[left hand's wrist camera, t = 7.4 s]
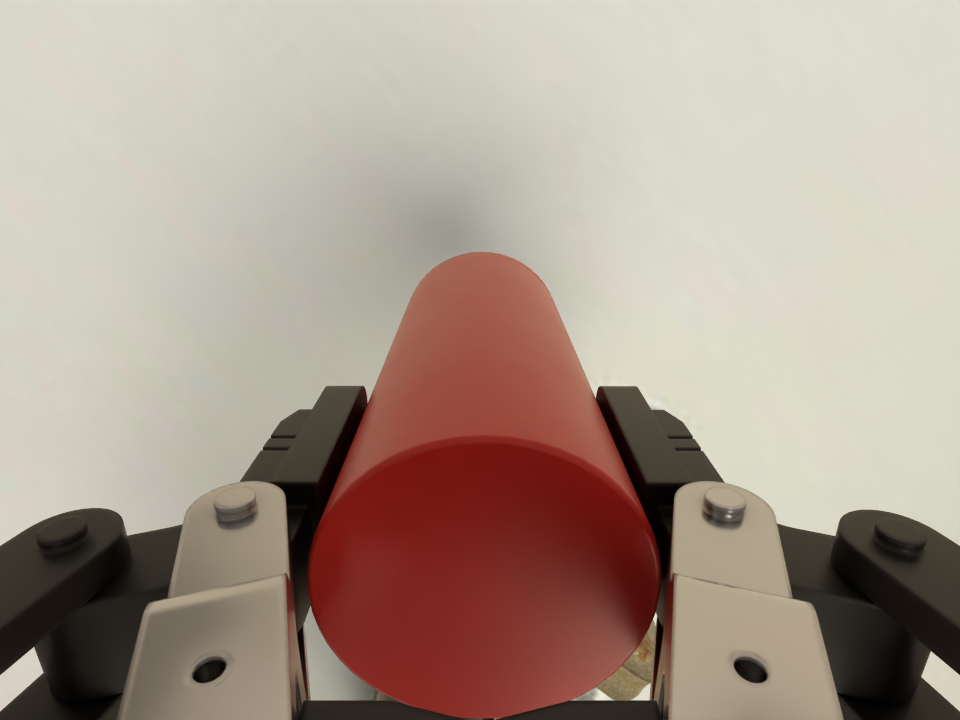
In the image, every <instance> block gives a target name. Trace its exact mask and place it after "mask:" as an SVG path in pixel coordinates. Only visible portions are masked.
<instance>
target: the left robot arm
mask: <svg viewBox="0 0 960 720" xmlns="http://www.w3.org/2000/svg"><path fill="white" fill-rule="evenodd" d="M596 401H597V403H598V405H599V408H600V410H601V412H602V415H603V417H604V419H605V422H606V424H607V426H608V429H609V431H610V433H611V436H612V438H613V440H614V443H615V445H616V447H617V450H618V452H619V454H620V456H621V459H622V461H623V463H624V466H625V468H626V470H627V473H628V475H629V477H630V480H631V482H632V484H633V487H634V489H635V491H636V494H637V496H638V498H639V501H640V503H641V505H642V508H643V510H644V512H645V514H646V517H647V519H648V521H649V524H650V526H651V528H652V531H653V533H654V535H655V539H656V543H657V546H658V550H659V553H660V563H661V588H660V595H659V600H658V604H657V608H656V613H657V623H656V630H655V637H654V649H653V662H652V675H651V688H650V701H566V702H562V703H558V704H554V705H550V706H546V707H542V708H538V709H534V710H530V711H526V712H523V713H519V714H515V715H511V716H507V717H503V718H499V719H498V718H484V719H482V718H462V717H455V716H449V715H445V714H441V713H437V712H434V711H430V710H426V709H422V708H418V707H414V706H410V705H407V704H404V703H402V702H400V701H397V700H395V699H393V698H391V697H389V696H387V695H385V694H383V693H381V692H380V691H378V690H376V689H375V693H374V698H373V701H310V688H309V675H308V662H307V649H306V637H305V630H304V622H305V619H306V616H307V613H308V611H309V608H310V606H311V603H310V598H309V594H308V584H307V566H308V558H309V552H310V548H311V545H312V541H313V538H314V534H315V532H316V530H317V527H318V525H319V522H320V520H321V517H322V515H323V512H324V510H325V508H326V505H327V503H328V500H329V498H330V495H331V493H332V490H333V488H334V485H335V483H336V481H337V478H338V476H339V473H340V471H341V468H342V466H343V463H344V461H345V459H346V456H347V454H348V451H349V449H350V446H351V444H352V441H353V439H354V436H355V434H356V432H357V429H358V427H359V424H360V422H361V419H362V417H363V414H364V412H365V409H366V407H367V405H368V404H367V395H366V390H365V387H364V386H326V387H325V389H324V391H323V392H322V394H321V396H320V397H319V399H318V401H317V402H316V404H315V406H314V407H313V409H312V410H298V411H296V412H295V413H293V414H292V415H290V416H289V417H287V418H286V419H284V420H282V421H281V422H280V423H279V425H278V426H277V428H276V429H275V431H274V432H273V434H272V435H271V439H269V440H268V441H267V442H266V444H265V445H264V447H263V451H260V453H259V454H258V456H257V457H256V459H255V460H254V462H253V463H252V465H251V466H250V467H249V469H248V470H247V472H246V473H245V475H244V476H243V478H242V479H241V481H240V482H238V483H233V484H229V485H225V486H222V487H219V488H217V489H214V490H212V491H210V492H208V493H206V494H205V495H203V496H201V497H200V498H199V499H197V500H196V501H195V502H194V503H193V504H192V505H191V506H190V507H189V508H188V510H187V511H186V514H185V517H184V522H183V524H182V525H179V526H174V527H170V528H165V529H160V530H155V531H150V532H145V533H139V534H134V535H129V536H127V534H126V530H125V526H124V522H123V519H122V517H121V516H120V515H119V514H118V513H116V512H114V511H112V510H108V509H102V508H89V509H80V510H75V511H70V512H66V513H63V514H59V515H56V516H53V517H51V518H48V519H46V520H43V521H41V522H39V523H37V524H35V525H33V526H31V527H30V528H28V529H26V530H25V531H23V532H21V533H20V534H18V535H17V536H15V537H14V538H12V539H11V540H9V541H7V542H6V543H4V544H3V545H1V546H0V675H1V674H2V673H3V672H4V671H6V670H7V669H8V668H9V667H10V666H11V665H13V664H14V663H15V662H16V661H17V660H19V659H20V658H21V657H22V656H23V655H25V654H26V653H27V652H28V651H29V650H31V649H32V648H33V647H34V648H35V650H36V653H37V656H38V658H39V661H40V664H41V667H42V669H43V672H44V673H43V674H42V675H41V676H40V677H39V678H37V679H36V680H35V681H34V682H33V683H32V684H31V685H30V686H28V687H27V688H26V689H25V690H24V691H23V692H22V693H21V694H20V695H18V696H17V697H16V698H15V699H14V700H13V701H12V702H11V703H9V704H8V705H7V706H6V707H5V708H4V709H3V710H2V711H0V720H960V711H958V710H957V709H956V708H955V707H954V706H953V705H952V704H951V703H949V702H948V701H947V700H946V699H945V698H944V697H943V696H942V695H941V694H939V693H938V692H937V691H936V690H935V689H934V688H933V687H932V686H930V685H929V684H928V683H927V682H926V681H925V680H924V679H923V678H922V677H921V676H922V673H923V670H924V668H925V665H926V662H927V660H928V657H929V654H930V652H931V651H932V652H933V653H934V654H935V655H937V656H938V657H939V658H940V659H941V660H943V661H944V662H945V663H946V664H947V665H949V666H950V667H951V668H952V669H953V670H954V671H956V672H957V673H958V674H959V675H960V546H959V545H957V544H956V543H954V542H953V541H951V540H949V539H948V538H946V537H945V536H943V535H942V534H940V533H939V532H937V531H935V530H933V529H932V528H930V527H928V526H926V525H924V524H922V523H920V522H918V521H915V520H913V519H910V518H907V517H904V516H901V515H898V514H894V513H890V512H885V511H878V510H857V511H852V512H849V513H847V514H845V515H844V516H843V517H842V518H841V519H840V522H839V525H838V529H837V532H836V536H831V535H826V534H821V533H816V532H811V531H806V530H801V529H795V528H791V527H787V526H783V525H780V524H777V522H776V517H775V514H774V511H773V510H772V508H771V507H770V506H769V505H768V504H767V503H766V502H765V501H764V500H763V499H761V498H760V497H759V496H757V495H755V494H754V493H752V492H750V491H748V490H746V489H743V488H741V487H738V486H735V485H731V484H727V483H724V481H723V480H722V478H721V477H720V475H719V474H718V472H717V471H716V469H715V468H714V467H713V465H712V464H711V462H710V461H709V459H708V458H707V456H706V455H705V454H704V452H703V451H701V448H700V446H699V445H698V443H697V442H696V441H695V439H693V436H692V435H691V433H690V432H689V430H688V429H687V427H686V426H685V425H684V423H683V422H682V421H680V420H679V419H677V418H676V417H674V416H672V415H671V414H669V413H668V412H666V411H665V410H651V409H650V407H649V405H648V404H647V402H646V400H645V399H644V397H643V395H642V394H641V392H640V390H639V389H638V388H637V387H636V386H600V387H599V388H598V391H597V395H596Z"/></svg>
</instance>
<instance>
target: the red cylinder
mask: <svg viewBox="0 0 960 720" xmlns="http://www.w3.org/2000/svg"><path fill="white" fill-rule="evenodd" d="M307 584H308V594H309V598H310V603H311V608H312V612H313V615H314V617H315V620H316V622H317V625H318V627H319V630H320V631H321V633H322V635H323V637H324V638H325V640H326V642H327V644H328V645H329V646H330V648H331V649H332V650H333V652H334V653H335V654H336V655H337V657H338V658H339V659H340V660H341V661H342V662H343V663H344V664H345V665H346V666H347V667H348V668H349V669H350V670H351V671H352V672H353V673H354V674H355V675H357V676H358V677H359V678H360V679H362V680H363V681H364V682H366V683H367V684H368V685H370V686H372V687H373V688H375V689H376V690H378V691H380V692H381V693H383V694H385V695H387V696H389V697H391V698H393V699H395V700H397V701H400V702H402V703H404V704H407V705H410V706H414V707H418V708H422V709H426V710H430V711H434V712H437V713H441V714H445V715H449V716H455V717H462V718H482V719H484V718H503V717H507V716H511V715H515V714H519V713H523V712H526V711H530V710H534V709H538V708H542V707H546V706H550V705H554V704H558V703H562V702H566V701H570V700H572V699H574V698H576V697H579V696H581V695H583V694H584V693H586V692H588V691H589V690H591V689H593V688H594V687H596V686H598V685H599V684H601V683H602V682H603V681H605V680H606V679H607V678H608V677H610V676H611V675H612V674H614V673H615V672H616V671H617V670H618V669H619V668H620V667H621V666H622V665H623V664H624V663H625V662H626V661H627V660H628V659H629V658H630V656H631V655H632V654H633V653H634V651H635V650H636V649H637V648H638V646H639V645H640V643H641V642H642V640H643V638H644V637H645V635H646V633H647V631H648V630H649V627H650V625H651V622H652V620H653V617H654V615H655V612H656V608H657V604H658V600H659V595H660V588H661V563H660V553H659V550H658V546H657V543H656V539H655V535H654V533H653V531H652V528H651V526H650V524H649V521H648V519H647V517H646V514H645V512H644V510H643V508H642V505H641V503H640V501H639V498H638V496H637V494H636V491H635V489H634V487H633V484H632V482H631V480H630V477H629V475H628V473H627V470H626V468H625V466H624V463H623V461H622V459H621V456H620V454H619V452H618V450H617V447H616V445H615V443H614V440H613V438H612V436H611V433H610V431H609V429H608V426H607V424H606V422H605V419H604V417H603V415H602V412H601V410H600V408H599V405H598V403H597V401H596V398H595V396H594V394H593V392H592V389H591V387H590V385H589V382H588V380H587V378H586V375H585V373H584V371H583V368H582V366H581V364H580V361H579V359H578V357H577V354H576V352H575V350H574V347H573V345H572V343H571V341H570V338H569V336H568V334H567V331H566V329H565V327H564V324H563V322H562V320H561V317H560V315H559V313H558V310H557V308H556V306H555V303H554V301H553V299H552V297H551V294H550V292H549V290H548V289H547V287H546V286H545V284H544V283H543V281H542V280H541V279H540V278H539V277H538V276H537V275H536V274H535V273H534V272H533V271H532V270H531V269H530V268H528V267H527V266H525V265H524V264H522V263H521V262H519V261H517V260H515V259H513V258H510V257H507V256H504V255H500V254H495V253H487V252H476V253H468V254H463V255H459V256H456V257H453V258H451V259H449V260H447V261H445V262H443V263H441V264H439V265H438V266H437V267H435V268H434V269H432V270H431V271H430V272H429V273H428V274H427V275H426V276H425V277H424V278H423V279H422V281H421V282H420V283H419V285H418V286H417V288H416V289H415V291H414V293H413V295H412V297H411V299H410V302H409V304H408V307H407V309H406V311H405V314H404V316H403V319H402V321H401V324H400V326H399V329H398V331H397V334H396V336H395V338H394V341H393V343H392V346H391V348H390V351H389V353H388V356H387V358H386V360H385V363H384V365H383V368H382V370H381V373H380V375H379V378H378V380H377V383H376V385H375V387H374V390H373V392H372V395H371V397H370V400H369V402H368V405H367V407H366V409H365V412H364V414H363V417H362V419H361V422H360V424H359V427H358V429H357V432H356V434H355V436H354V439H353V441H352V444H351V446H350V449H349V451H348V454H347V456H346V459H345V461H344V463H343V466H342V468H341V471H340V473H339V476H338V478H337V481H336V483H335V485H334V488H333V490H332V493H331V495H330V498H329V500H328V503H327V505H326V508H325V510H324V512H323V515H322V517H321V520H320V522H319V525H318V527H317V530H316V532H315V534H314V538H313V541H312V545H311V548H310V552H309V558H308V566H307Z"/></svg>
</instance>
